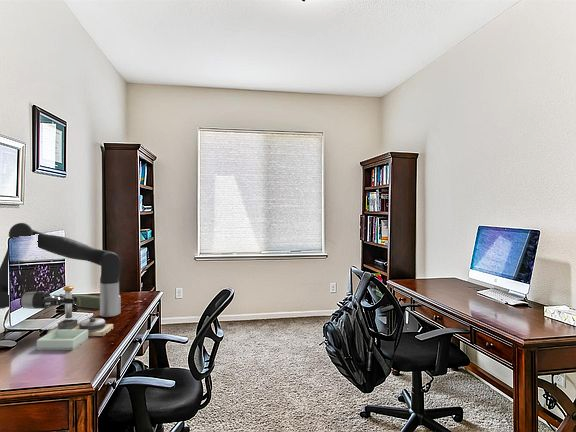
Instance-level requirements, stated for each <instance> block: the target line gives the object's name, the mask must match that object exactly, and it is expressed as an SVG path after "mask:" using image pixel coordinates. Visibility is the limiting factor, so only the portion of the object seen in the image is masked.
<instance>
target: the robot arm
mask: <svg viewBox="0 0 576 432" xmlns="http://www.w3.org/2000/svg"><path fill="white" fill-rule="evenodd" d="M35 234H39V235H38V241H37V242H38V247H39V249H41V250H43V251H46V252H48V253H52V254H55V255H57V256H60V257H63V258H68V259H71V260H72V259H73V260H77V261H78V260H80V261H84V262H85V261H87V262H90V263H93V264H96V265H98V266H100V278H99V297H100V309H99V316H100V317H103V318H110V317H115V316H118V315H120V314H121V313H122V312H121V308H122V307H121V305H122V298H121V295H120V277H121V259H120V256H119V255H118V254H117V253H116V252H113V251H109V250H104V249H99V248H96V247H93V246H89V245H88V244H85V243H83V242H81V241H78V240H75V239H72V238H68V237H66V236H60V235H54V234H53V235H52V234H47V233H43V232H39V231H37V230H34V229H32V227H31V226H30V225H29V224H27V223H26V222H18V223H16V224H14V225H12V226H11V227H10V229H9V231H8V237H9V239H10V238H13V237H19V236H31V235H35ZM76 301H77V297H73V296H72V298H65V293H63V294H62V293H60V294H53V295H51V294H50V293H49V292H48V291H28V292H24V293H23V294H22V295H21V299H20V305H21V307H23V308H22V309H27V310H28V309H30V310H32V309H34V310H35V309H36V310H39V309H40V310H43V309H47V308H48V307H56V306H61V305H65V304H72V305H73V303H74V302H76ZM6 308H10V307H9V295H8V248H6V253H5V255H4V258H3V260H2V262H1V264H0V310H2V309H6Z"/></svg>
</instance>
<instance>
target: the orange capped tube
mask: <svg viewBox="0 0 576 432" xmlns="http://www.w3.org/2000/svg"><path fill="white" fill-rule="evenodd" d="M62 289H63V291H64V295H65V298H72V297H73V290H74V286H73V285H67V286H63V288H62ZM64 317H65V319H72V318H73V303H72V304H65V303H64Z"/></svg>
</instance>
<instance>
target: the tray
mask: <svg viewBox="0 0 576 432" xmlns="http://www.w3.org/2000/svg"><path fill="white" fill-rule="evenodd" d="M87 340H89V337H88V330H54V331H52V332H50V333H48V334H47V333H46V334H45V335H43V336H42V337H39V338H38V339H37V340H36V351H74V350H75V349H76V348H78V347H79V346H81V345H82V344H83V343H84V341H85V342H86V341H87ZM80 344H81V345H80Z"/></svg>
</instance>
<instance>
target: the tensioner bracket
mask: <svg viewBox="0 0 576 432" xmlns="http://www.w3.org/2000/svg"><path fill="white" fill-rule="evenodd" d="M106 322H107V321H106V320H105V319H104V318H98V317H97V318H96V317H91V318H86V319H83V320H81V321H80V322H79V323H78V319H67V318H65V319H63V320H61V321H60V322H57V325H56V326H55V327H53V328H52V329H50V330H48V331H46V332H47V333H46V335H47V334H48V333H50V332H52V331H54V330H88V336H103V337H104V336H106V335H107V334H109V332H111V331H112V330H113V329H114V323H106ZM111 329H112V330H111ZM106 333H107V334H106Z"/></svg>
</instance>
